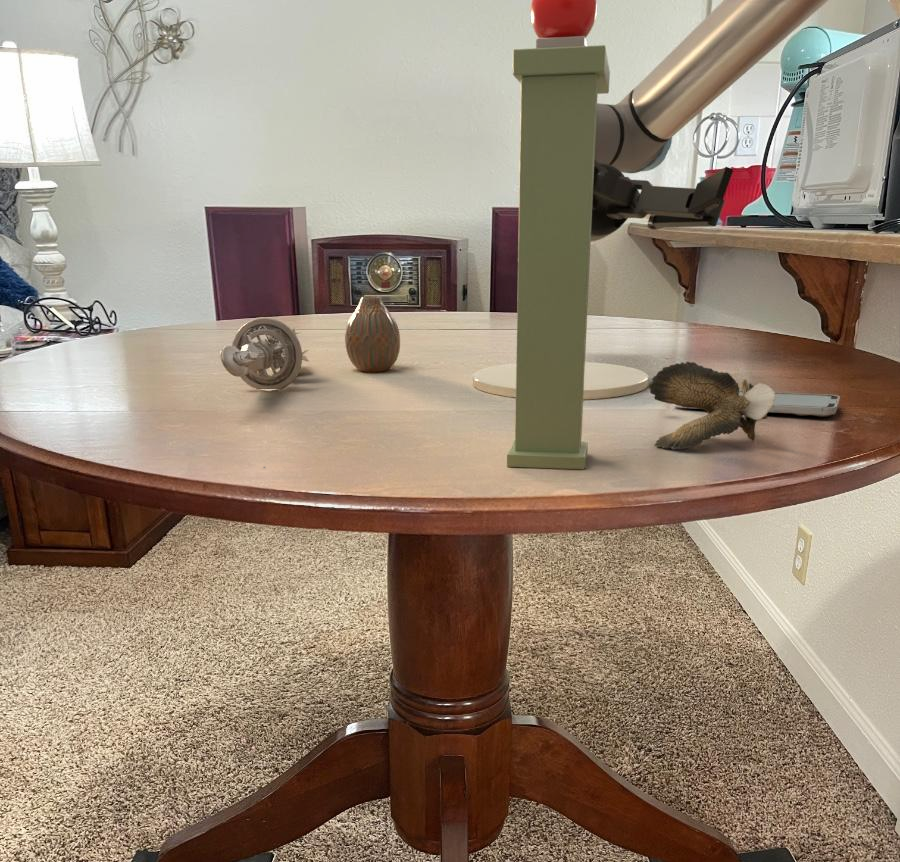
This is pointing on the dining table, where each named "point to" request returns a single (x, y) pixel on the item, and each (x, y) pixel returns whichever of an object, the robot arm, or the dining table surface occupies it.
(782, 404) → the smartphone
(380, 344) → the vase
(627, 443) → the dining table surface
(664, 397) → the eagle figurine
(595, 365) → the plate
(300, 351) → the spaceship
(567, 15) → the red rounded bar
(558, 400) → the stand
